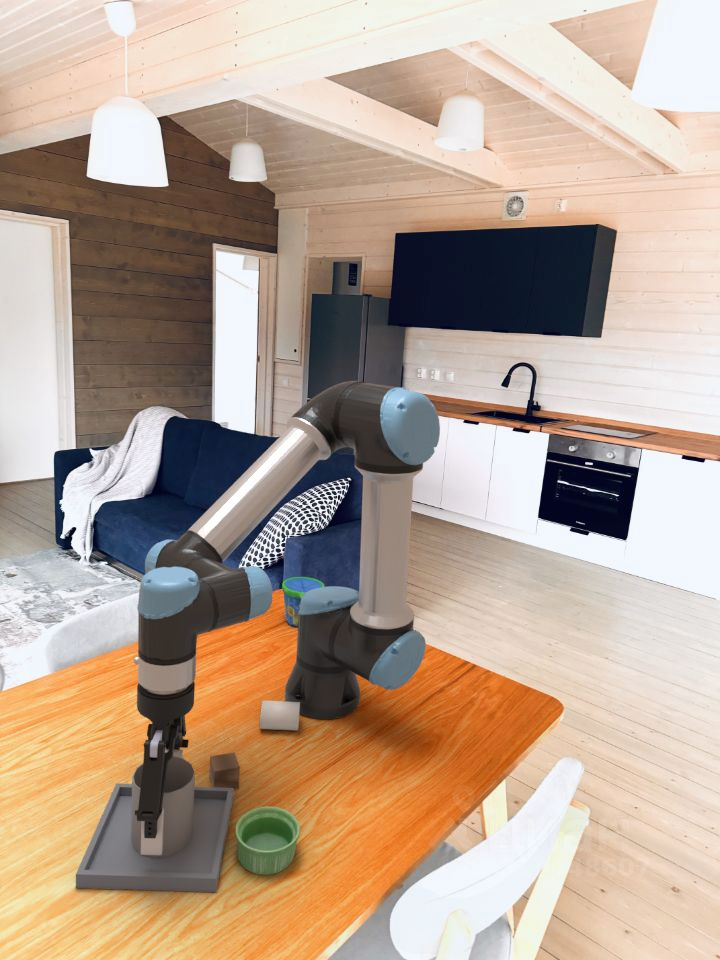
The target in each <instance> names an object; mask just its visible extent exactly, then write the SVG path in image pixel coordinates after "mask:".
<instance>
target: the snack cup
mask: <svg viewBox="0 0 720 960" xmlns="http://www.w3.org/2000/svg"><path fill="white" fill-rule="evenodd" d="M281 585H282V586H281V591H282V592H283V602H284V615H285V616H284V617H285V621H286V622H287V623H288V625H289V626H294V627H295V628H296V627H297V628H298V620H299V611H300V605H301V599H302V597H303V595H304V594H305V593H306V592H308V591H310V590H313V589H316V588H321V587H326V585H325V584H324V583H323V582H322V581H321V580H319V579H316V578H313V577H306V576H297V577H296V576H294V577H290V578H287V579H285V580H283V582H282V584H281Z"/></svg>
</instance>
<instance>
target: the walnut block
mask: <svg viewBox="0 0 720 960" xmlns="http://www.w3.org/2000/svg"><path fill="white" fill-rule="evenodd" d="M240 770H241V767H240V765H239V761H238V758H237V756H236V753H235V751H233V752H228V753H221V754H216V755H210V756H209V770H208V771H209V777H208V778H209V780H210V781H209V782H210V785H211V787H221V788H234V790H237V789H239V788H240V787H239V786H240V772H241V771H240Z"/></svg>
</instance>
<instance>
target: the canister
mask: <svg viewBox="0 0 720 960" xmlns="http://www.w3.org/2000/svg"><path fill="white" fill-rule="evenodd" d="M299 710H300V702H286V701H283V700H281V701H280V700H262V701H261V708H260V716H259V718H260V719H259V729H260V730H279V731H299V721H300V714H299Z"/></svg>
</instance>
